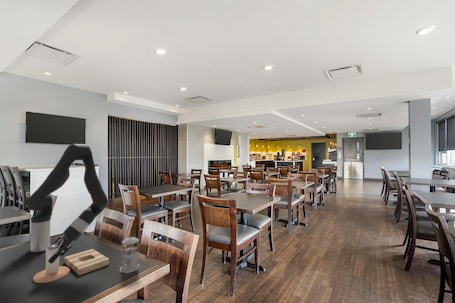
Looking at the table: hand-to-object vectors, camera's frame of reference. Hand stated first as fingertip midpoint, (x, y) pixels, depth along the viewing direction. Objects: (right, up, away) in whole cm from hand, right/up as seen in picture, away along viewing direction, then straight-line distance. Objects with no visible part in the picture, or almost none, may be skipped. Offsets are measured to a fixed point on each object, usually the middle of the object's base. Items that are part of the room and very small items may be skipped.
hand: (48, 260), depth 111 cm
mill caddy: (+10, -8, +13) cm, 18 cm away
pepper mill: (+1, -6, +1) cm, 6 cm away
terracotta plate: (+1, -7, +1) cm, 8 cm away
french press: (+34, -8, +9) cm, 36 cm away
